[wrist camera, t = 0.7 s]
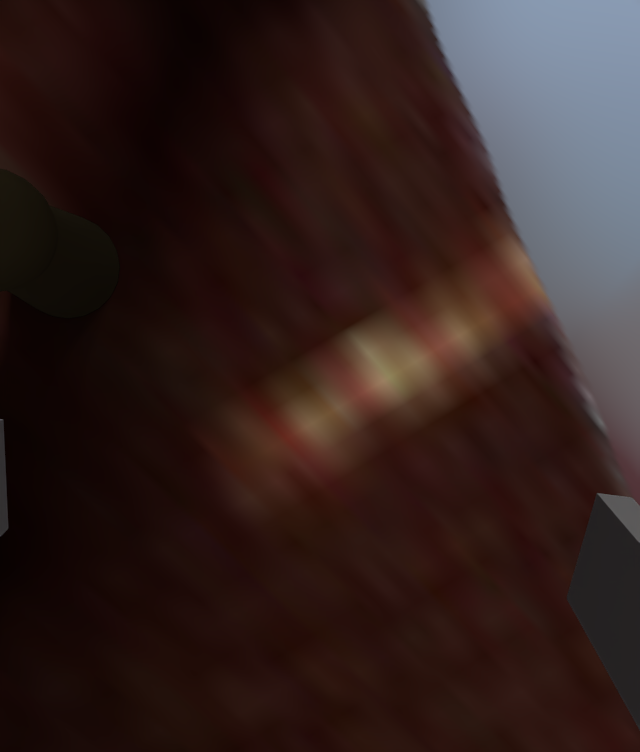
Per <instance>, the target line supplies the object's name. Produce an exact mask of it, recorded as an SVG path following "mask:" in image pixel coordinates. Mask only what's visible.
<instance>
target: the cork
mask: <svg viewBox="0 0 640 752" xmlns="http://www.w3.org/2000/svg"><path fill="white" fill-rule="evenodd" d="M119 269H120V265H119V259H118V254H117V250H116V248H115V246H114V244H113V243H112V241H111V239H110V237H109V236H108V235H107V234H106V233H105V232H104V231H103V230H102V229H101V228H100V227H99V226H98V225H96V224H94V223H92V222H90V221H88V220H86V219H84V218H82V217H80V216H77V215H74V214H71V213H69V212H66V211H63V210H60V209H57V208H55V207H52V206H49V205H48V203H47V201H46V199H45V197H44V196H43V195H42V194H41V193H40V192H39V191H38V190H36V189H35V188H34V187H33V186H32V185H31V184H30V183H29V182H28V181H26V180H25V179H23V178H21V177H19V176H17V175H15V174H13V173H11V172H9V171H7V170H3V169H0V291H6V290H7V291H9V292H10V293H12V294H13V295H15V296H17V297H18V298H20V299H22V300H23V301H25V302H26V303H28V304H30V305H31V306H33V307H34V308H36V309H38V310H40V311H42V312H44V313H46V314H48V315H50V316H55V317H62V318H74V317H80V316H85V315H87V314H89V313H91V312H93V311H95V310H97V309H99V308H100V307H101V306H102V305H103V304H104V303H105V302H106V301H107V300H108V299H109V298H110V297H111V295H112V293H113V291H114V289H115V287H116V285H117V283H118V276H119Z"/></svg>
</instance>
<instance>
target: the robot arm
mask: <svg viewBox="0 0 640 752" xmlns="http://www.w3.org/2000/svg"><path fill="white" fill-rule="evenodd" d="M7 530H8V508H7V486H6V465H5V443H4V421H3V419H0V536H2V535H3V534H4V533H5V532H6V531H7ZM567 600H568V602H569V604H570V605H571V607H572V609H573V611H574V613H575V614H576V616H577V618H578V620H579V622H580V623H581V625H582V627H583V629H584V631H585V632H586V634H587V636H588V638H589V640H590V641H591V643H592V645H593V647H594V649H595V650H596V652H597V654H598V656H599V658H600V659H601V661H602V663H603V665H604V667H605V668H606V670H607V672H608V674H609V676H610V677H611V679H612V681H613V683H614V685H615V687H616V688H617V690H618V692H619V694H620V696H621V697H622V699H623V701H624V703H625V705H626V706H627V708H628V710H629V712H630V714H631V715H632V717H633V719H634V721H635V723H636V724H637V726H638V728H639V730H640V506H639V505H638V504H637V503H636V502H635V501H634V499H633V498H631V497H623V496H615V495H607V494H599V493H597V495H596V498H595V502H594V505H593V509H592V512H591V516H590V519H589V523H588V526H587V529H586V533H585V536H584V540H583V543H582V547H581V550H580V554H579V557H578V560H577V564H576V567H575V571H574V574H573V578H572V581H571V585H570V588H569V592H568V595H567Z"/></svg>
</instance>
